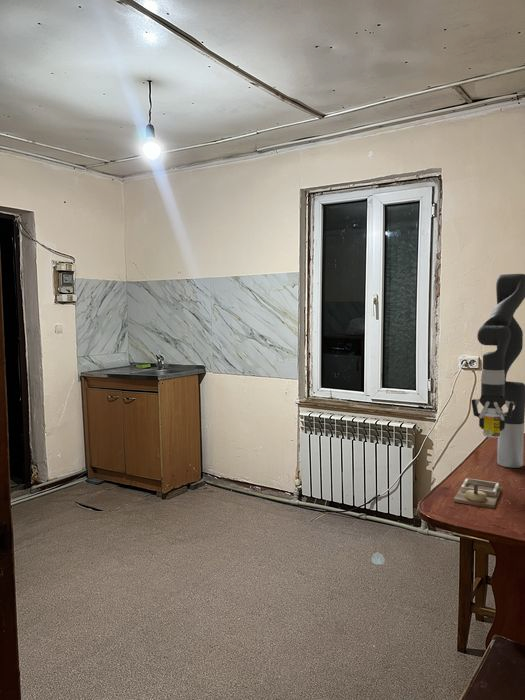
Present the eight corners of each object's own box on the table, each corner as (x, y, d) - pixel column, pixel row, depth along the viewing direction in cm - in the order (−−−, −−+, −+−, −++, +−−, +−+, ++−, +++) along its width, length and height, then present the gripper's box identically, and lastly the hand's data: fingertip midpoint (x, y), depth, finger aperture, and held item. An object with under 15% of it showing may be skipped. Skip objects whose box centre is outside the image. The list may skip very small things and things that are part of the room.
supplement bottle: (494, 439, 182) (495, 409, 181) (479, 435, 186) (480, 407, 186) (503, 436, 185) (504, 408, 184) (489, 433, 189) (489, 405, 189)
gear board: (464, 484, 185) (464, 469, 185) (501, 490, 179) (501, 474, 179) (453, 501, 169) (454, 485, 169) (494, 508, 163) (494, 491, 163)
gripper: (516, 382, 184) (515, 429, 185) (472, 379, 191) (471, 425, 192) (514, 384, 177) (513, 433, 179) (469, 382, 185) (468, 429, 186)
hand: (491, 429), depth 185 cm, fingers closed on supplement bottle, 5 cm apart
